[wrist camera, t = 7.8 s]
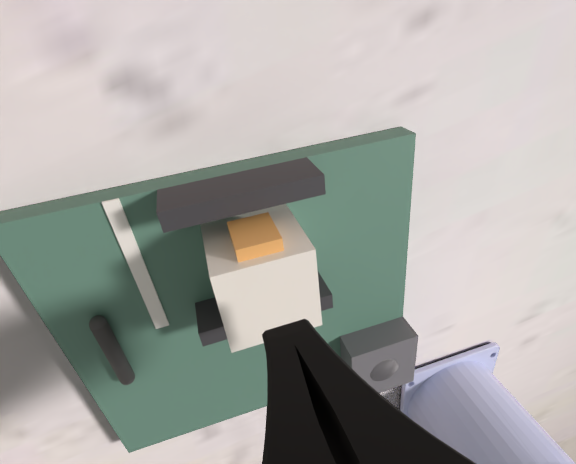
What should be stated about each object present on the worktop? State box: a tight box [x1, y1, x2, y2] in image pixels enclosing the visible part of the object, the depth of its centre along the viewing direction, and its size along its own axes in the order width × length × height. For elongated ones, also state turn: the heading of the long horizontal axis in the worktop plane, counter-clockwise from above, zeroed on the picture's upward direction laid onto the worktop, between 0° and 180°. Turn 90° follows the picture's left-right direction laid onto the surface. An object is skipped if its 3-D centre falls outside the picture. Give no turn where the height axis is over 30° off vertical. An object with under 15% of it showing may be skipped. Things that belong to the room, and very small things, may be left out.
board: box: [0, 127, 418, 453], centre depth 18 cm, size 15×17×3 cm
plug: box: [200, 204, 322, 353], centre depth 15 cm, size 4×4×4 cm
